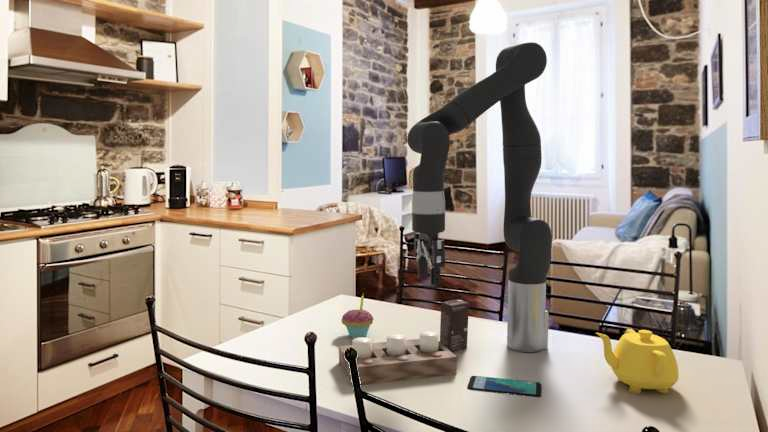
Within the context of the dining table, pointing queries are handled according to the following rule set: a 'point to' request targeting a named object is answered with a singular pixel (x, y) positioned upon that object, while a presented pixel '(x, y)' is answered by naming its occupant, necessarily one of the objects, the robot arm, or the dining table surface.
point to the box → (454, 324)
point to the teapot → (642, 361)
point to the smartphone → (505, 386)
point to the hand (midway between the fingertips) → (428, 280)
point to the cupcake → (357, 321)
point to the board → (401, 363)
